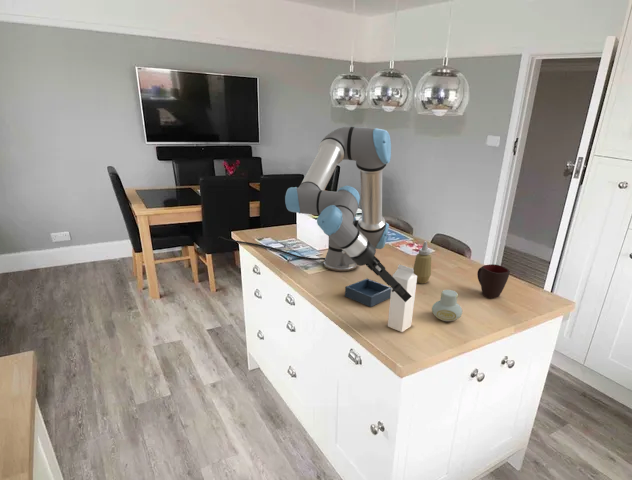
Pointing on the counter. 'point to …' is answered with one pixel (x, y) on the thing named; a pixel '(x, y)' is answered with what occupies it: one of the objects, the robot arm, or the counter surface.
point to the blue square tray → (368, 292)
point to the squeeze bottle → (423, 264)
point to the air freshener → (447, 306)
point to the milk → (398, 307)
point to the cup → (492, 279)
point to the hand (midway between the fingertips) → (399, 290)
